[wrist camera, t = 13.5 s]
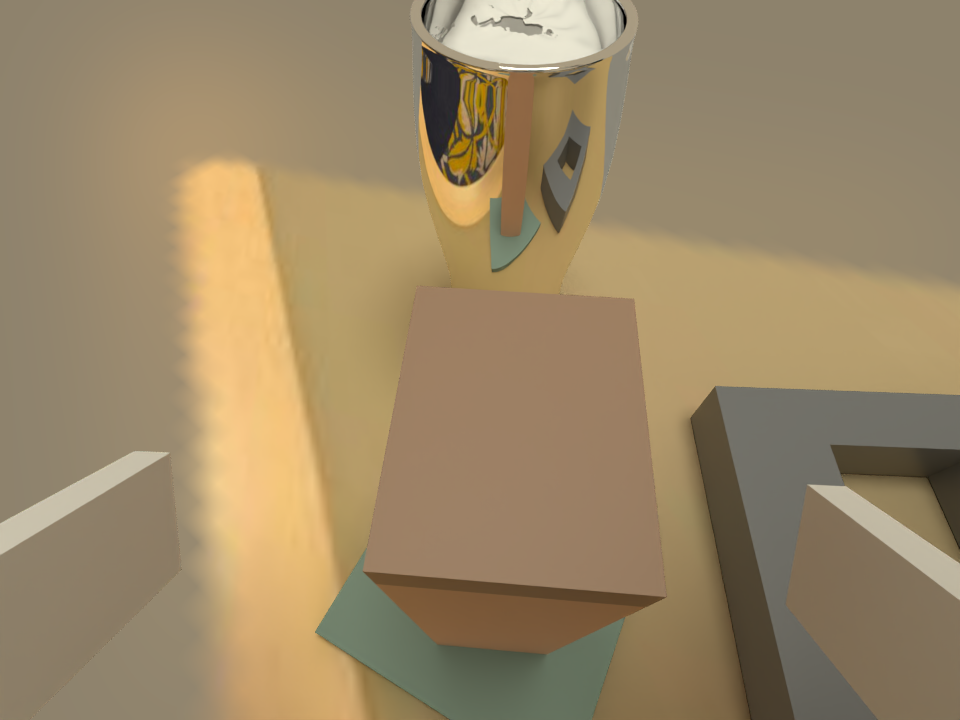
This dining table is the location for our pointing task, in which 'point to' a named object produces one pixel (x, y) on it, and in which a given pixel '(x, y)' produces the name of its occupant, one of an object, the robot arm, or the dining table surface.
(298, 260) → the dining table surface
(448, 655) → the mat
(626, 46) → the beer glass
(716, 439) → the socket block
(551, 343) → the brown tall block
